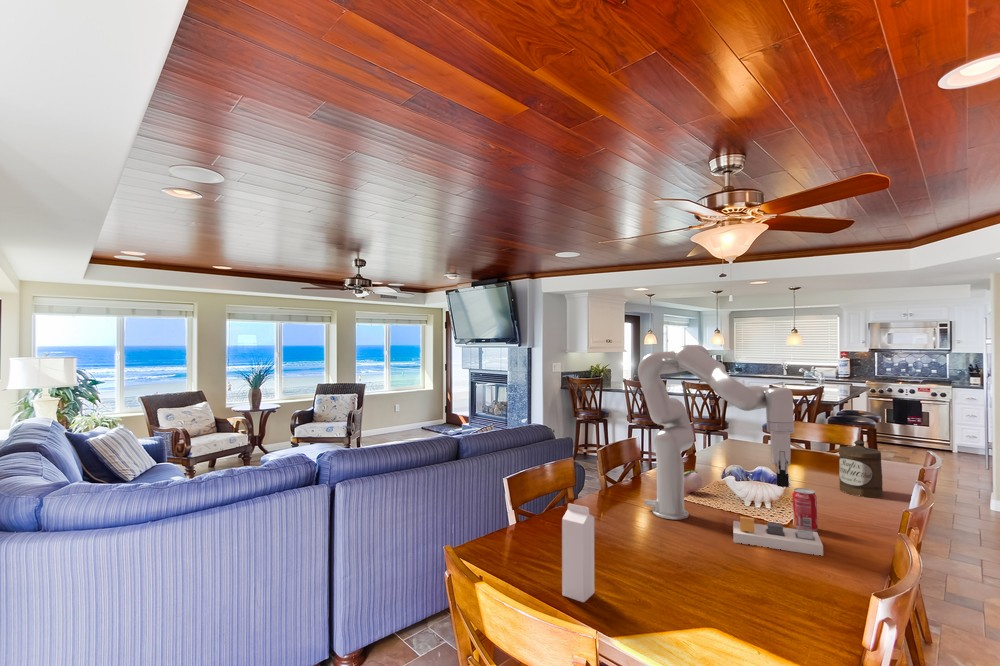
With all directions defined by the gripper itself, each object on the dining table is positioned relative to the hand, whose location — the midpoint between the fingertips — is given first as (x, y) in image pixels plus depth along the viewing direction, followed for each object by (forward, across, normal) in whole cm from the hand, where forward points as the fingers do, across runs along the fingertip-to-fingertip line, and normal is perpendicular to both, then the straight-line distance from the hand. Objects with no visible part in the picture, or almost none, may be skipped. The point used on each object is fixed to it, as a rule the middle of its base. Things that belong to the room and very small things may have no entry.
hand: (782, 485), depth 156 cm
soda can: (+18, -18, +7) cm, 27 cm away
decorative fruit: (+17, -46, -32) cm, 58 cm away
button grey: (+16, -1, +5) cm, 17 cm away
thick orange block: (+18, +2, -11) cm, 21 cm away
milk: (+18, +59, -48) cm, 78 cm away
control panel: (+18, -1, -3) cm, 18 cm away
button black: (+16, -1, -3) cm, 16 cm away
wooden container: (+18, -79, +32) cm, 87 cm away
